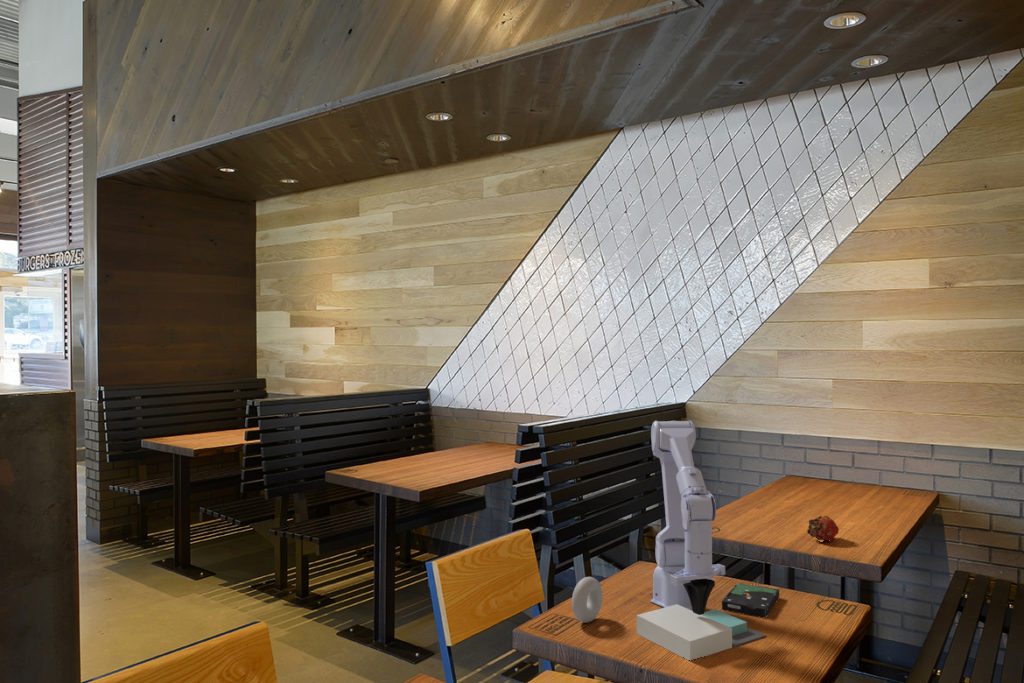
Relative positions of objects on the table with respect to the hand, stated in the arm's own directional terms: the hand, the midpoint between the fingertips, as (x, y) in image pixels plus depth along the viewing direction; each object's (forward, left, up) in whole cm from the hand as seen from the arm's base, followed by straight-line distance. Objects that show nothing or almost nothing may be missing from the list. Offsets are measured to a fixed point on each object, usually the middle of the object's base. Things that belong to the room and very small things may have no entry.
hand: (698, 613), depth 159 cm
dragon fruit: (-31, +86, -5) cm, 91 cm away
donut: (-19, -15, -5) cm, 25 cm away
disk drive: (-7, +25, -6) cm, 26 cm away
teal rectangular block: (0, +7, -3) cm, 8 cm away
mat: (0, +7, -5) cm, 9 cm away
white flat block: (0, -4, -5) cm, 7 cm away
